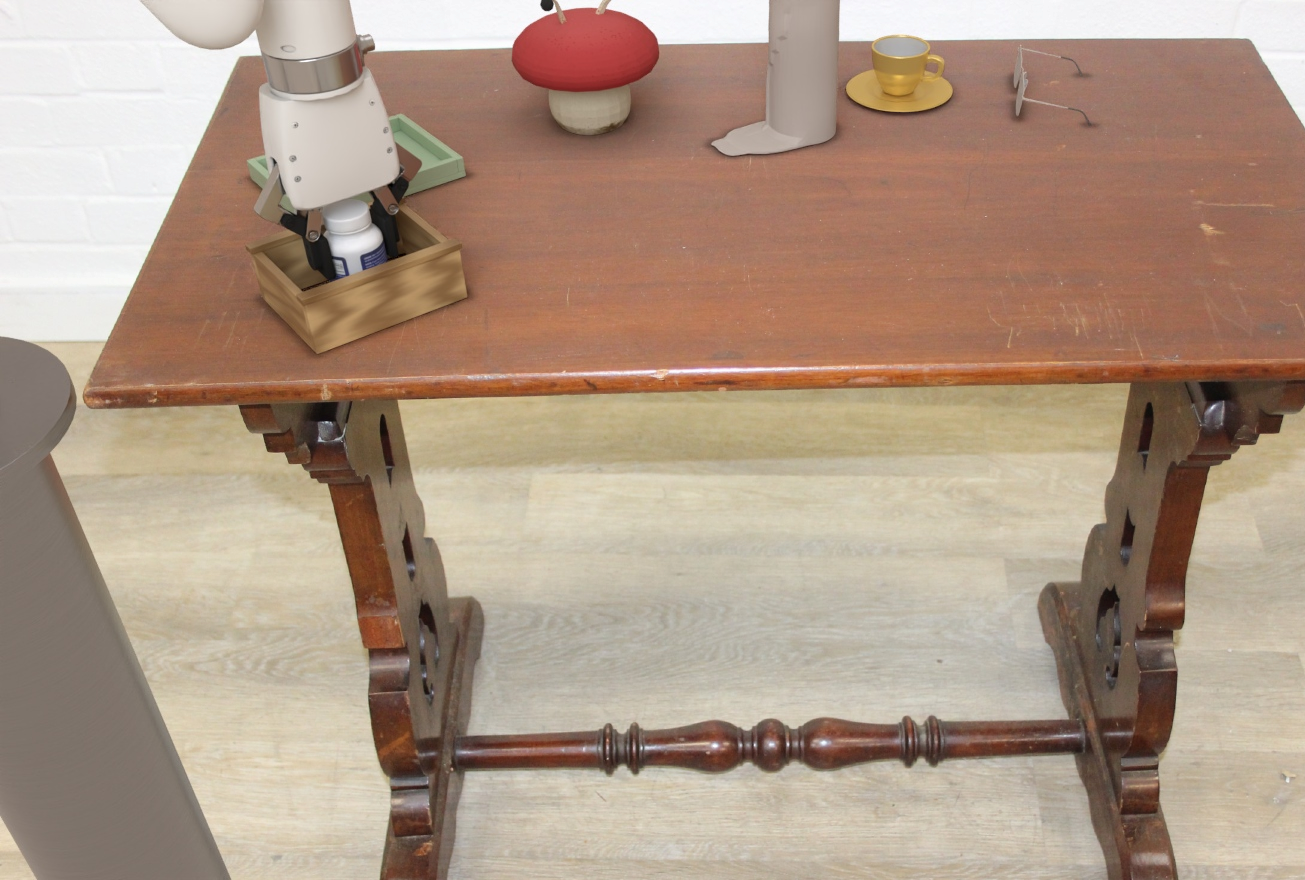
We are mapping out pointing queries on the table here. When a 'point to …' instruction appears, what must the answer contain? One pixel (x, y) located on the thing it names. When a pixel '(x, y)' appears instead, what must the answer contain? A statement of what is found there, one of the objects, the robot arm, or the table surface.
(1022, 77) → the eyeglasses
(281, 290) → the wooden box
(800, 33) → the candle
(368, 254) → the pill bottle
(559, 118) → the mushroom
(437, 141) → the tray
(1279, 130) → the table surface
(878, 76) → the cup
